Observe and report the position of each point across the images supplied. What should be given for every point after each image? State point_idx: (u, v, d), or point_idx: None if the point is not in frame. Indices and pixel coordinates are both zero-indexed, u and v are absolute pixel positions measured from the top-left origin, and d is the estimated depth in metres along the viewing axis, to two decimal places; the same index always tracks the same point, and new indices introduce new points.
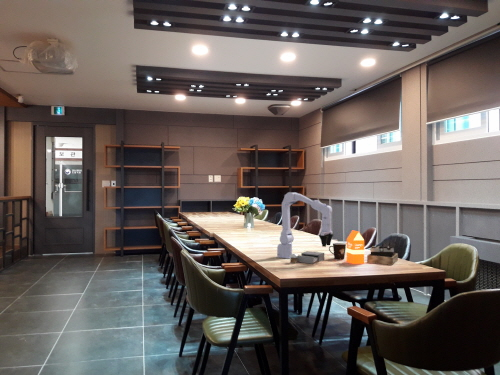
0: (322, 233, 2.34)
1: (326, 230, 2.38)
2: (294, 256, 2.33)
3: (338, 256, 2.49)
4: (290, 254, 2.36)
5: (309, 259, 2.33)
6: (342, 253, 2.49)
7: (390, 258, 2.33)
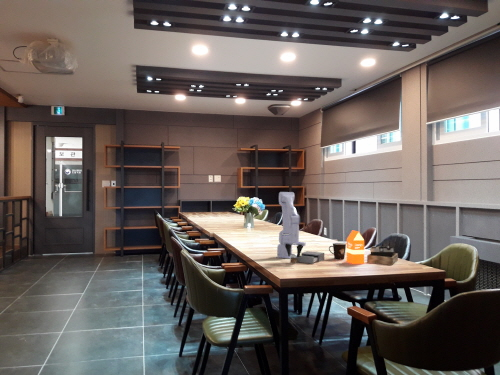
0: None
1: (289, 240, 2.36)
2: (294, 256, 2.33)
3: (338, 256, 2.49)
4: (290, 254, 2.36)
5: (309, 259, 2.33)
6: (342, 253, 2.49)
7: (390, 258, 2.33)
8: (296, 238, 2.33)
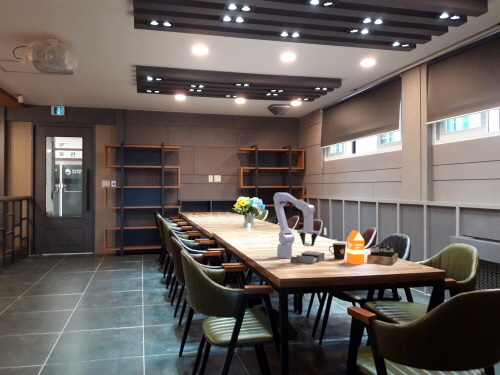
0: None
1: None
2: (308, 244, 2.37)
3: (338, 256, 2.49)
4: (304, 243, 2.40)
5: (309, 259, 2.33)
6: (342, 253, 2.49)
7: (390, 258, 2.33)
8: (310, 227, 2.38)
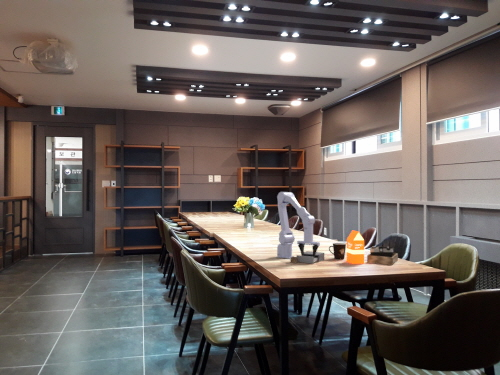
0: None
1: None
2: None
3: (338, 256, 2.49)
4: None
5: (309, 259, 2.33)
6: (342, 253, 2.49)
7: (390, 258, 2.33)
8: (310, 238, 2.38)
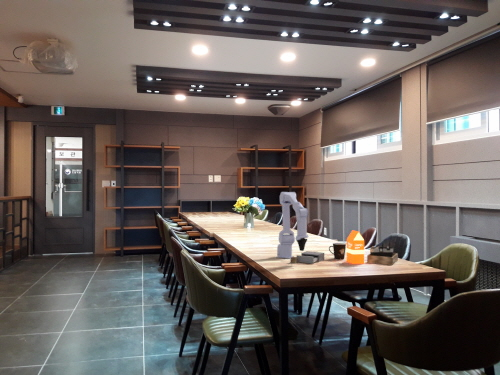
0: (297, 237, 2.24)
1: (301, 234, 2.28)
2: None
3: (338, 256, 2.49)
4: None
5: (309, 259, 2.33)
6: (342, 253, 2.49)
7: (390, 258, 2.33)
8: None
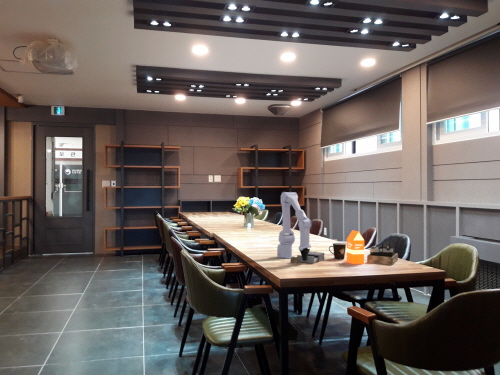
0: (300, 248, 2.29)
1: (304, 244, 2.32)
2: None
3: (338, 256, 2.49)
4: None
5: (310, 259, 2.34)
6: (342, 253, 2.49)
7: (390, 258, 2.33)
8: None
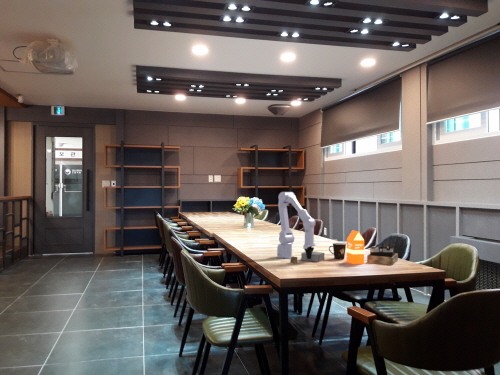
0: (305, 246, 2.35)
1: (309, 243, 2.38)
2: None
3: (338, 256, 2.49)
4: None
5: (314, 257, 2.40)
6: (342, 253, 2.49)
7: (390, 258, 2.33)
8: None
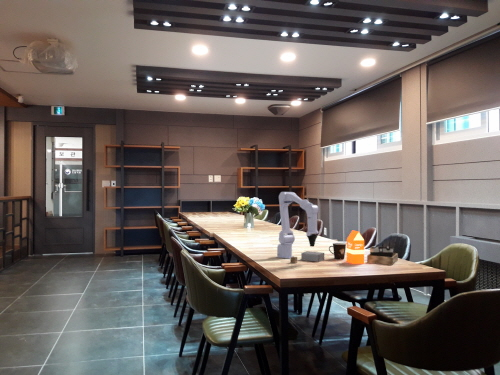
0: (308, 233, 2.29)
1: (312, 230, 2.32)
2: None
3: (338, 256, 2.49)
4: None
5: (314, 257, 2.40)
6: (342, 253, 2.49)
7: (390, 258, 2.33)
8: None
